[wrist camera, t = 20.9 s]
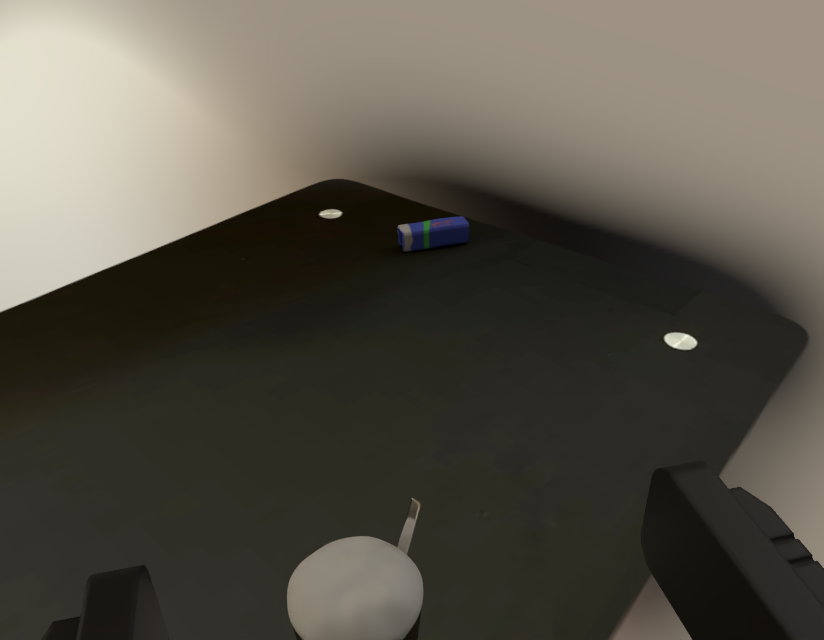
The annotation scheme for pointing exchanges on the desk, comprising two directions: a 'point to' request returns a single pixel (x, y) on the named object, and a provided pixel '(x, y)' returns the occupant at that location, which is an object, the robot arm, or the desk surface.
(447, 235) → the eraser
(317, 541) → the desk surface
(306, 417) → the desk surface
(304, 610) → the milkshake
